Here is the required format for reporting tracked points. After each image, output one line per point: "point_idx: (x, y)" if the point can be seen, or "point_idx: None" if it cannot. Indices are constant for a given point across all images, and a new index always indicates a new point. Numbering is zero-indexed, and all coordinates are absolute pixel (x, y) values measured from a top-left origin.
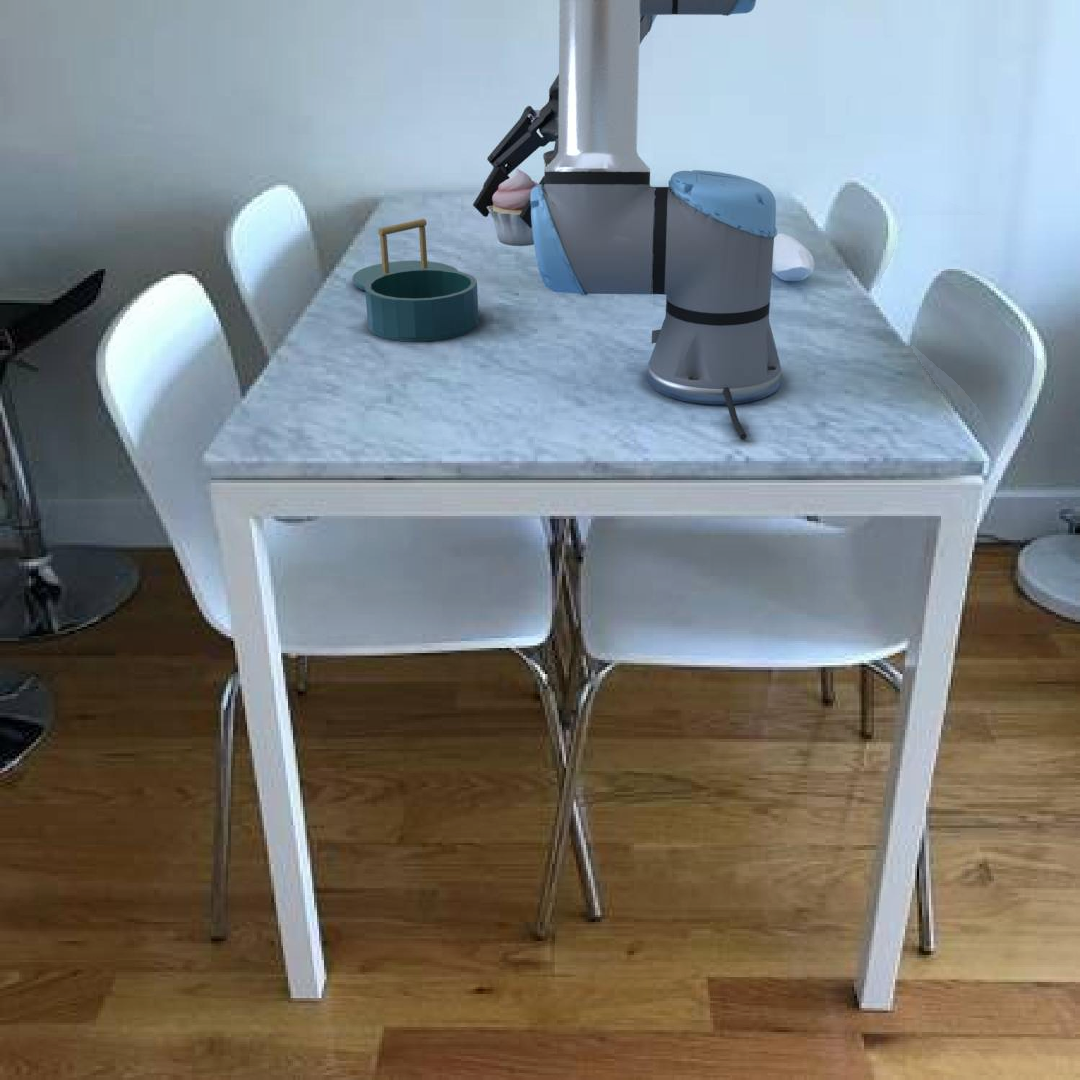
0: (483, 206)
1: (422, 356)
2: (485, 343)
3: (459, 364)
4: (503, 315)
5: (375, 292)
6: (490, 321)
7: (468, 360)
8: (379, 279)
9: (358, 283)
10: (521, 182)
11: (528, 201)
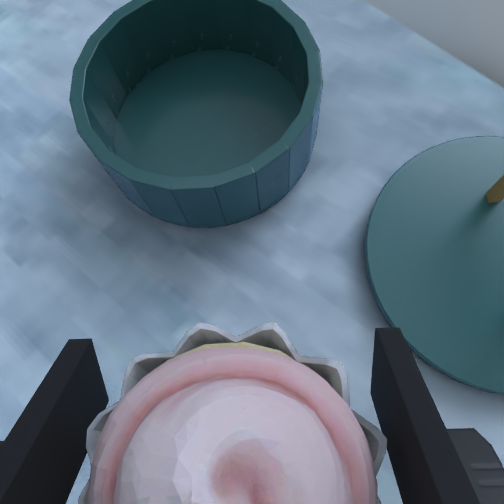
0: (377, 373)
1: (81, 49)
2: (43, 150)
3: (8, 69)
4: (135, 272)
5: None
6: (126, 229)
7: (9, 87)
8: (296, 37)
9: (501, 138)
10: (133, 449)
11: (58, 393)
